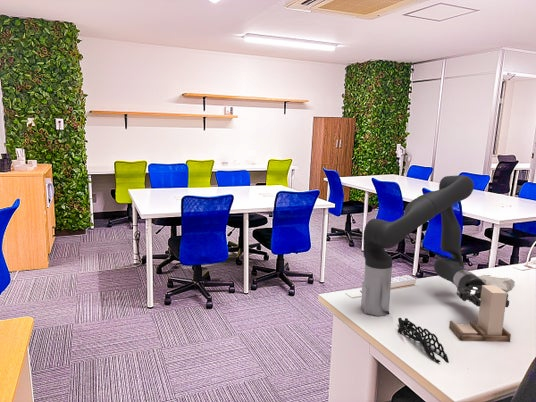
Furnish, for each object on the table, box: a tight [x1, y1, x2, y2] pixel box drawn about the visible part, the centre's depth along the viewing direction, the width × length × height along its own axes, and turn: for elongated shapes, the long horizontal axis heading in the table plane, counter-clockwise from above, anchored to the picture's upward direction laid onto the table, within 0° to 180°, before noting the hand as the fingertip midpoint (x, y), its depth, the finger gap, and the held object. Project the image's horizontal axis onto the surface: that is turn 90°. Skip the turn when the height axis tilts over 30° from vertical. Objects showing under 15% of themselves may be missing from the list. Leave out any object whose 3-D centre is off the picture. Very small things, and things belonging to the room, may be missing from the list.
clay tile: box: [455, 323, 478, 335], centre depth 126 cm, size 4×6×2 cm
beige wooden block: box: [476, 285, 508, 336], centre depth 125 cm, size 4×6×15 cm
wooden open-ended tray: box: [448, 320, 512, 343], centre depth 126 cm, size 15×8×4 cm, turn 89°
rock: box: [476, 274, 515, 293], centre depth 166 cm, size 21×5×15 cm
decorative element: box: [397, 317, 449, 364], centre depth 120 cm, size 22×5×6 cm, turn 14°
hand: (493, 304), depth 123 cm, fingers open, 8 cm apart
